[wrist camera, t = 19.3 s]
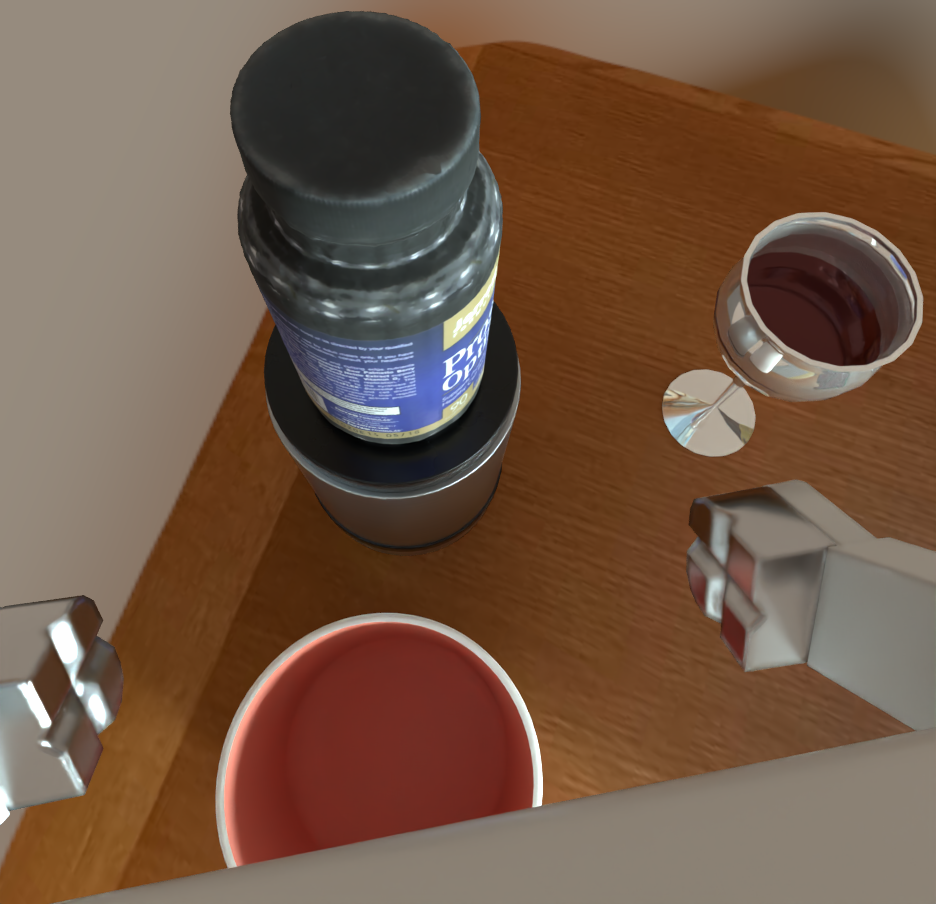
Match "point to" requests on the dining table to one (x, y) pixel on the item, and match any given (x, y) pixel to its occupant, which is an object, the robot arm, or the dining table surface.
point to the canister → (402, 457)
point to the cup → (372, 740)
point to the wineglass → (797, 326)
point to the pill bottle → (370, 218)
